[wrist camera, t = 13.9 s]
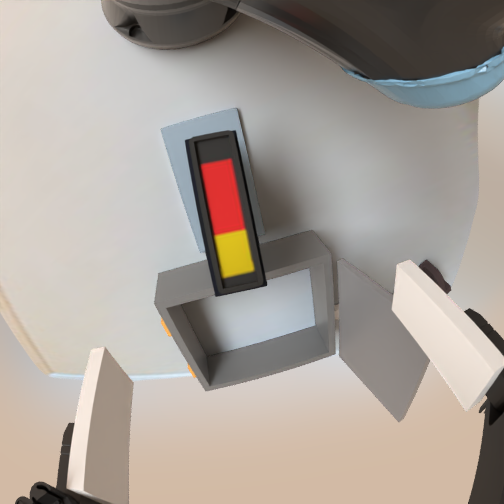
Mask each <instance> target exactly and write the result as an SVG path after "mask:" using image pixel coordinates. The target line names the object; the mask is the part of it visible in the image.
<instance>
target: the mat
mask: <svg viewBox="0 0 504 504" xmlns="http://www.w3.org/2000/svg"><path fill="white" fill-rule="evenodd" d="M226 130H230V131H233V130H236V133H237V138H238V142H239V147H240V152H241V157H242V162H243V167H244V171H245V176H246V181H247V186H248V191H249V196H250V201H251V206H252V211H253V216H254V221H255V226H256V230H257V235H258V236H261V235H265V231H264V226H263V221H262V217H261V212H260V208H259V203H258V199H257V194H256V190H255V185H254V181H253V176H252V172H251V168H250V163H249V159H248V154H247V150H246V146H245V141H244V137H243V133H242V128H241V124H240V120H239V116H238V112H237V108H233V109H229V110H225V111H221V112H217V113H213V114H209V115H205V116H202V117H198V118H195V119H191V120H188V121H184V122H181V123H178V124H174V125H171V126H168V127H165V128H162V129H161V132H162V136H163V139H164V143H165V146H166V149H167V153H168V156H169V159H170V163H171V166H172V169H173V172H174V176H175V179H176V182H177V185H178V188H179V191H180V194H181V198H182V201H183V204H184V207H185V210H186V213H187V216H188V219H189V222H190V225H191V228H192V231H193V234H194V236H195V239H196V242H197V245H198V248H199V251H200V253H201V252H205V247H204V242H203V237H202V233H201V228H200V223H199V218H198V213H197V207H196V202H195V197H194V192H193V186H192V181H191V175H190V170H189V164H188V158H187V152H186V146H185V140H186V139H190V138H192V137H194V136H199V135H204V134H209V133H215V132H220V131H226Z"/></svg>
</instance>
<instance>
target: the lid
mask: <svg viewBox="0 0 504 504" xmlns="http://www.w3.org/2000/svg"><path fill="white" fill-rule="evenodd" d="M337 271H338V294H339V356H340V358H341V359H342V360H343V361H344V362H345V363H346V364H347V365H348V366H349V368H350V369H351V370H352V371H353V372H354V373H355V374H356V375H357V377H358V378H359V379H360V380H361V381H362V382H363V383H364V384H365V385H366V387H367V388H368V389H369V390H370V391H371V392H372V393H373V394H374V395H375V397H376V398H377V399H378V400H379V401H380V402H381V403H382V404H383V405H384V406H385V408H386V409H387V410H388V411H389V412H390V413H391V414H392V415H393V416H394V418H395V419H396V420H397V421H398V422H400V421H401V420H402V419H404V417H405V415H406V413H407V411H408V409H409V407H410V405H411V403H412V401H413V399H414V397H415V394H416V392H417V390H418V388H419V385H420V383H421V381H422V379H423V376H424V374H425V371H426V369H427V367H428V364H429V362H430V359H429V358H428V356H427V355H426V354H425V352H424V351H423V350H422V348H421V347H420V346H419V344H418V343H417V342H416V340H415V339H414V338H413V336H412V335H411V334H410V332H409V331H408V330H407V329H406V327H405V326H404V325H403V323H402V322H401V321H400V320H399V318H398V317H397V316H396V315H395V313H394V312H393V311H392V303H393V295H392V294H391V293H390V292H388V291H387V290H386V289H384V288H383V287H382V286H380V285H379V284H378V283H376V282H375V281H374V280H372V279H371V278H369V277H368V276H367V275H365V274H364V273H363V272H361V271H360V270H358V269H357V268H356V267H354V266H353V265H352V264H350V263H349V262H347V261H346V260H345V259H343V258H342V259H340V260H338V261H337Z"/></svg>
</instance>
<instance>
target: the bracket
mask: <svg viewBox="0 0 504 504" xmlns="http://www.w3.org/2000/svg"><path fill="white" fill-rule="evenodd" d="M419 268H420V269H421V270H422V271H423V272H424V273H425V274H426V275H427V276H428V277H429V278H431V279H432V280H433V281H434V282H435V283H436V284H437V285H438V286H439V287H440V288H441V289H442V290H443V291H444V292H445V293H446V294H448V293H449V292H450V291H451V286H450V285H449V284H448V283H447V282H446V281H445V280H444V279H443V276H442V275H441V273H440V272H439V270H438V269H437V268H436V267H434V266H433V265H432V264H431V263H430V262H429V261H428V260H425V261H424V262H423V263H421V264H420V266H419ZM392 295H394V293H393V294H392Z"/></svg>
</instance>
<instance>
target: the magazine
mask: <svg viewBox="0 0 504 504" xmlns="http://www.w3.org/2000/svg"><path fill="white" fill-rule="evenodd" d="M185 146H186V152H187V158H188V164H189V170H190V175H191V181H192V186H193V192H194V197H195V202H196V207H197V213H198V218H199V223H200V228H201V233H202V237H203V242H204V247H205V252H206V257H207V261H208V266H209V270H210V275H211V279H212V284H213V288H214V293H215V296H216V297H217V296H222V295H227V294H232V293H236V292H241V291H246V290H250V289H255V288H259V287H264V286H267V281H266V276H265V271H264V266H263V261H262V256H261V251H260V245H259V240H258V235H257V230H256V226H255V221H254V216H253V211H252V206H251V201H250V196H249V191H248V186H247V181H246V176H245V171H244V167H243V162H242V157H241V152H240V147H239V142H238V138H237V133H236V130H233V131H230V130H226V131H220V132H215V133H209V134H204V135H199V136H194V137H192V138H190V139H186V140H185Z"/></svg>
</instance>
